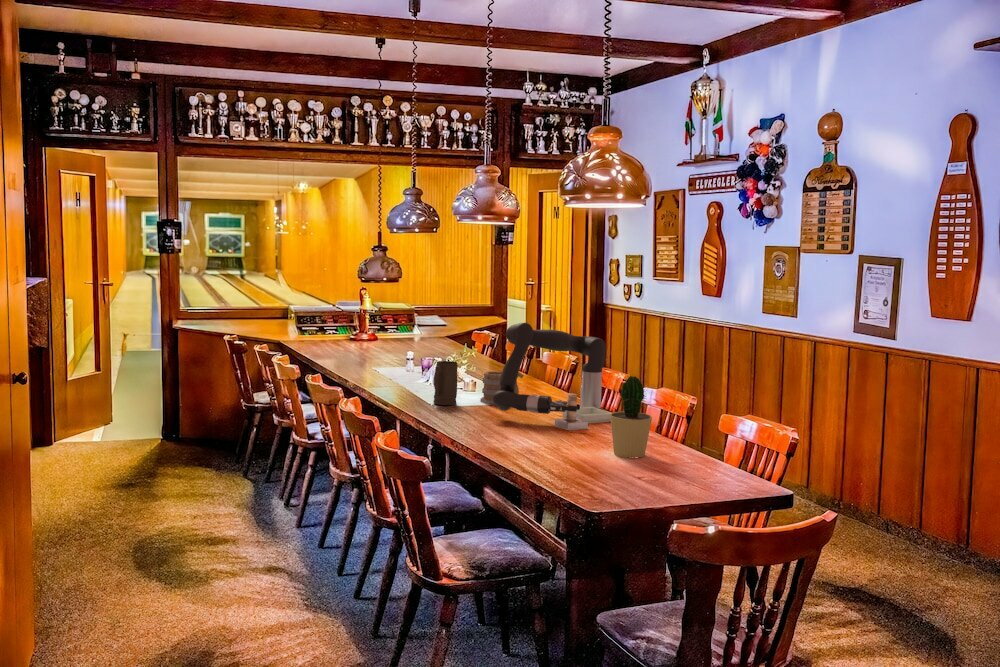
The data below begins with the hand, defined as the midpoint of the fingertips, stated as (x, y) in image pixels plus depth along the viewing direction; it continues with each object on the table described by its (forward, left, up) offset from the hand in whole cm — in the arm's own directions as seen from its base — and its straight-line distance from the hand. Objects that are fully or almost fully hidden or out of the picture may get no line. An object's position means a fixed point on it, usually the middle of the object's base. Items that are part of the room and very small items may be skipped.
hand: (578, 407), depth 389 cm
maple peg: (-2, -2, -9) cm, 9 cm away
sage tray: (-14, +15, -9) cm, 22 cm away
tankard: (-62, -1, -9) cm, 63 cm away
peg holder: (-2, -2, -9) cm, 9 cm away
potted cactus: (+47, -9, -9) cm, 49 cm away
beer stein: (-66, -30, -9) cm, 73 cm away
